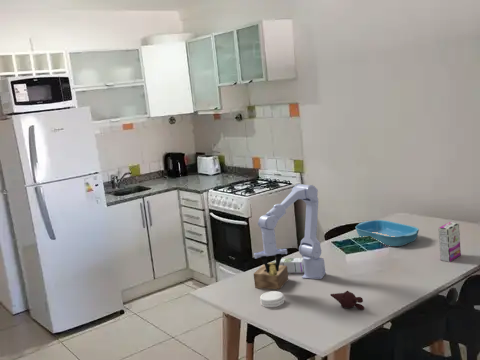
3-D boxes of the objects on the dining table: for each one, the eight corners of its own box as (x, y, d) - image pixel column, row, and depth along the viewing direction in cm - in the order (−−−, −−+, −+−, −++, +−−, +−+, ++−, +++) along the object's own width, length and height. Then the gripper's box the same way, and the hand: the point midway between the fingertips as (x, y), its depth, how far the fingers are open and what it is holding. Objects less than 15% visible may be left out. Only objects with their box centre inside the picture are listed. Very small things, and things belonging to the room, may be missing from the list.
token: (278, 273, 231) (277, 262, 230) (274, 276, 227) (273, 265, 227) (271, 272, 233) (269, 261, 232) (267, 275, 229) (266, 264, 229)
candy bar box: (451, 253, 252) (449, 221, 249) (461, 255, 248) (459, 222, 245) (439, 260, 245) (437, 227, 242) (449, 262, 241) (448, 228, 238)
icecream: (324, 292, 207) (357, 303, 198) (333, 282, 212) (367, 292, 202) (327, 306, 210) (360, 317, 200) (336, 295, 215) (369, 306, 205)
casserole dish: (428, 240, 275) (427, 228, 274) (399, 251, 264) (398, 238, 263) (376, 229, 306) (375, 217, 305) (348, 238, 295) (347, 226, 294)
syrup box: (274, 273, 253) (303, 273, 249) (273, 262, 252) (302, 261, 248) (276, 269, 259) (305, 268, 254) (275, 257, 257) (304, 257, 253)
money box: (288, 279, 243) (286, 265, 242) (279, 289, 233) (277, 275, 232) (264, 278, 248) (263, 264, 247) (255, 287, 238) (253, 273, 237)
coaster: (267, 310, 213) (266, 302, 212) (256, 302, 222) (256, 294, 222) (288, 303, 217) (287, 296, 216) (277, 296, 226) (276, 288, 225)
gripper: (283, 237, 232) (286, 265, 234) (252, 241, 231) (255, 270, 233) (286, 241, 225) (289, 271, 227) (253, 246, 224) (257, 276, 226)
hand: (272, 271), depth 230 cm, fingers closed on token, 4 cm apart
